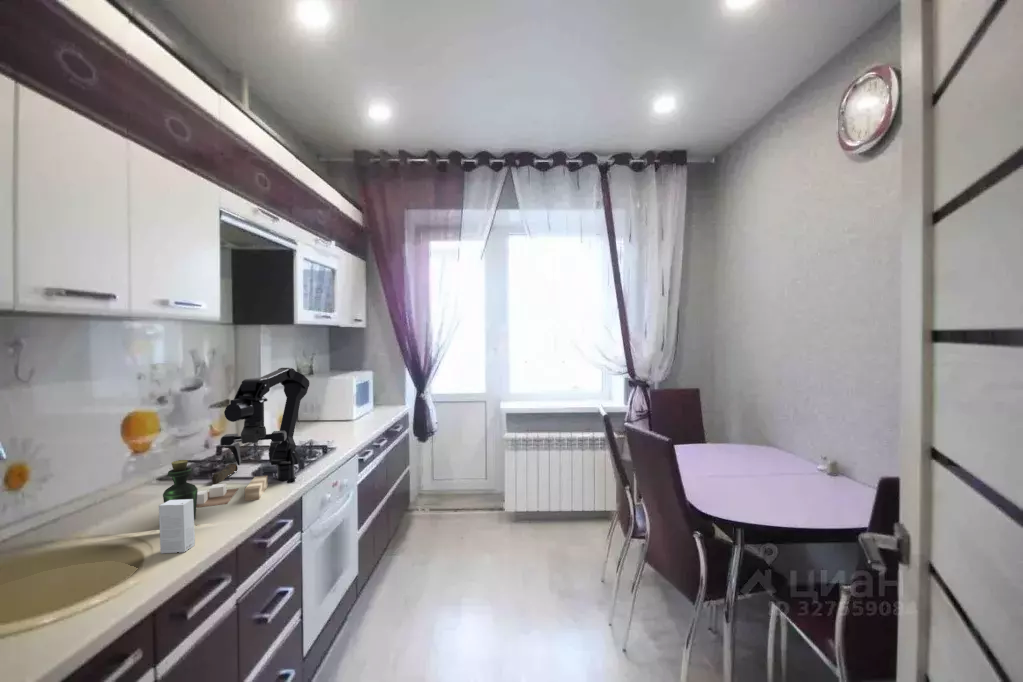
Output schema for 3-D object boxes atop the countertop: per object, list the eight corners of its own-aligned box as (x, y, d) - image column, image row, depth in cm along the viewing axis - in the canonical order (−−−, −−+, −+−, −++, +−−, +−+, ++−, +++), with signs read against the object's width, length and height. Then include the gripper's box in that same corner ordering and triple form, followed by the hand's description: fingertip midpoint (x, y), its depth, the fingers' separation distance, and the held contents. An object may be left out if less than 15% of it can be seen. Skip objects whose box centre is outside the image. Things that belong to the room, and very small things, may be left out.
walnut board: (191, 496, 157) (191, 493, 157) (238, 491, 162) (238, 488, 162) (174, 513, 142) (174, 510, 142) (227, 507, 147) (227, 503, 147)
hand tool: (227, 473, 184) (226, 461, 184) (238, 472, 185) (237, 461, 185) (204, 489, 165) (204, 476, 165) (217, 488, 166) (216, 475, 166)
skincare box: (195, 545, 120) (194, 498, 120) (184, 553, 116) (183, 504, 116) (171, 546, 120) (169, 499, 120) (159, 553, 115) (157, 505, 115)
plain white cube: (212, 493, 157) (212, 484, 157) (226, 492, 158) (226, 483, 158) (209, 497, 153) (209, 488, 153) (223, 495, 154) (223, 486, 154)
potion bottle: (169, 533, 128) (167, 467, 127) (159, 526, 133) (157, 462, 132) (203, 523, 134) (201, 460, 134) (192, 517, 139) (190, 456, 139)
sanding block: (255, 490, 163) (254, 476, 163) (267, 489, 164) (267, 475, 164) (245, 504, 149) (244, 489, 149) (259, 503, 150) (258, 487, 150)
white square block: (193, 501, 150) (192, 491, 150) (207, 499, 151) (207, 490, 151) (189, 505, 146) (188, 495, 146) (204, 503, 147) (203, 494, 147)
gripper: (214, 422, 145) (215, 472, 145) (281, 418, 151) (282, 467, 151) (224, 417, 156) (225, 464, 156) (286, 413, 162) (287, 459, 162)
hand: (254, 463), depth 156 cm, fingers open, 9 cm apart
